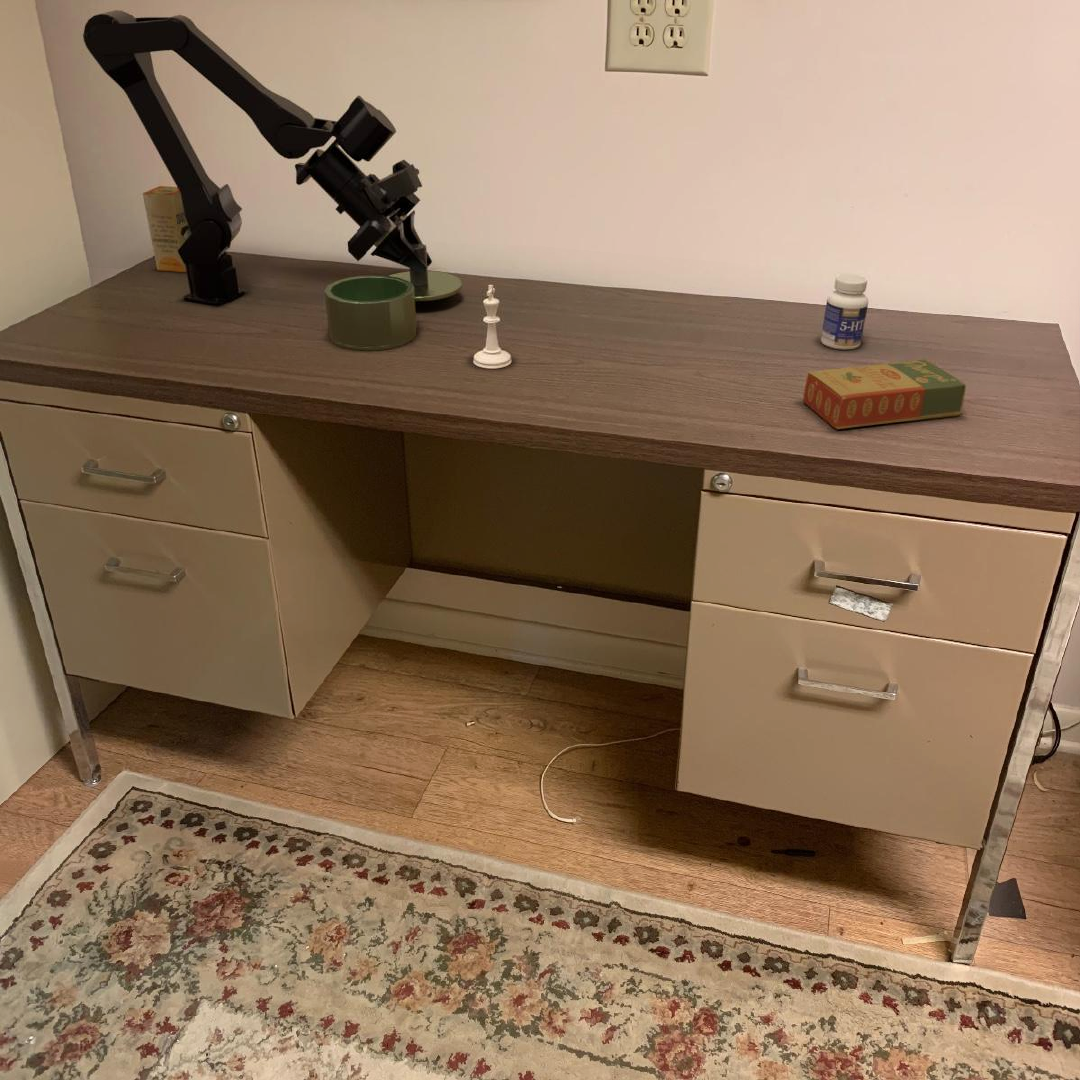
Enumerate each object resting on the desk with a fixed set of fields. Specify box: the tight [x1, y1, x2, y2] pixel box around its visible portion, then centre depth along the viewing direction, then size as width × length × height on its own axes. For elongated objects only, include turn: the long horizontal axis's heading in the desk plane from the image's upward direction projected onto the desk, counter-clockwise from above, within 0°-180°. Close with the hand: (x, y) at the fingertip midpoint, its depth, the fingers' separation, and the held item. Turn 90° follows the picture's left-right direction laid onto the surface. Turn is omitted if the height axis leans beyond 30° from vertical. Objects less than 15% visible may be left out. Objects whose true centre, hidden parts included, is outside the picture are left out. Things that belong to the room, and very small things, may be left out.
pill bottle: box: [820, 273, 869, 351], centre depth 136 cm, size 5×5×9 cm
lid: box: [389, 243, 463, 302], centre depth 150 cm, size 12×12×7 cm
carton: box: [802, 359, 967, 430], centre depth 119 cm, size 8×16×4 cm, turn 105°
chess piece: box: [472, 284, 513, 370], centre depth 130 cm, size 5×5×10 cm
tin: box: [324, 274, 417, 352], centre depth 139 cm, size 12×12×6 cm
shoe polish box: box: [142, 185, 191, 273], centre depth 163 cm, size 5×5×12 cm
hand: (427, 267), depth 149 cm, fingers closed on lid, 2 cm apart
